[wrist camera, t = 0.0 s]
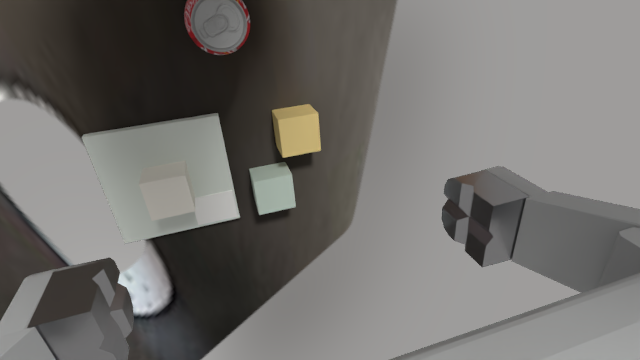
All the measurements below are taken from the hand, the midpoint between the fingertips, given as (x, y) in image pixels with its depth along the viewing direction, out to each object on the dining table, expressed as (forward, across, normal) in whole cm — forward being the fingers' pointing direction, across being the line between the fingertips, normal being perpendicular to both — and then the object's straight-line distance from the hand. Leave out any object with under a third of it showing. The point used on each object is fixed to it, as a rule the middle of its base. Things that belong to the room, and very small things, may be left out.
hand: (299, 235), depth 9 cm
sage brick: (+48, -5, +24) cm, 54 cm away
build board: (+48, +10, +20) cm, 53 cm away
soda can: (+48, -1, -2) cm, 48 cm away
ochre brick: (+48, -10, +15) cm, 51 cm away
